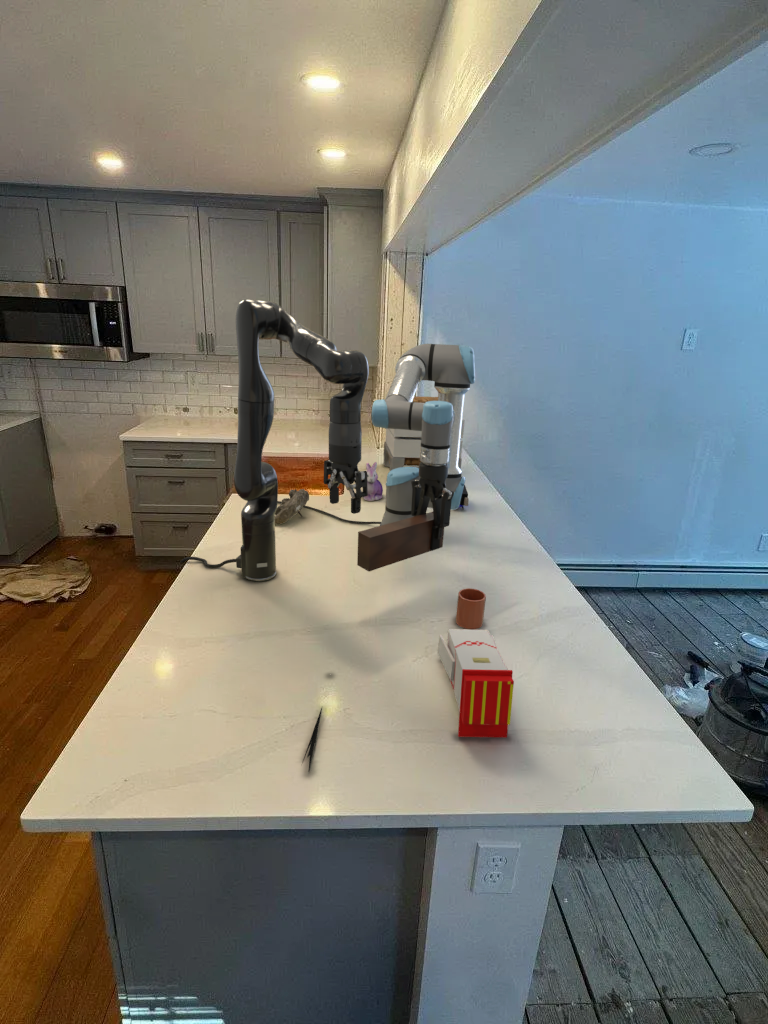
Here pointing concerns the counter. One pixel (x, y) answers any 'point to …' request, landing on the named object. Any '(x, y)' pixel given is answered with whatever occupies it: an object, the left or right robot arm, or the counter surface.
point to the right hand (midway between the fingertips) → (427, 545)
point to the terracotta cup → (470, 608)
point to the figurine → (373, 483)
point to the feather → (313, 740)
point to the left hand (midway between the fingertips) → (344, 507)
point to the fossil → (291, 506)
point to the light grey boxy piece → (408, 444)
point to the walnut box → (395, 541)
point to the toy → (478, 682)
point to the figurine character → (464, 498)
